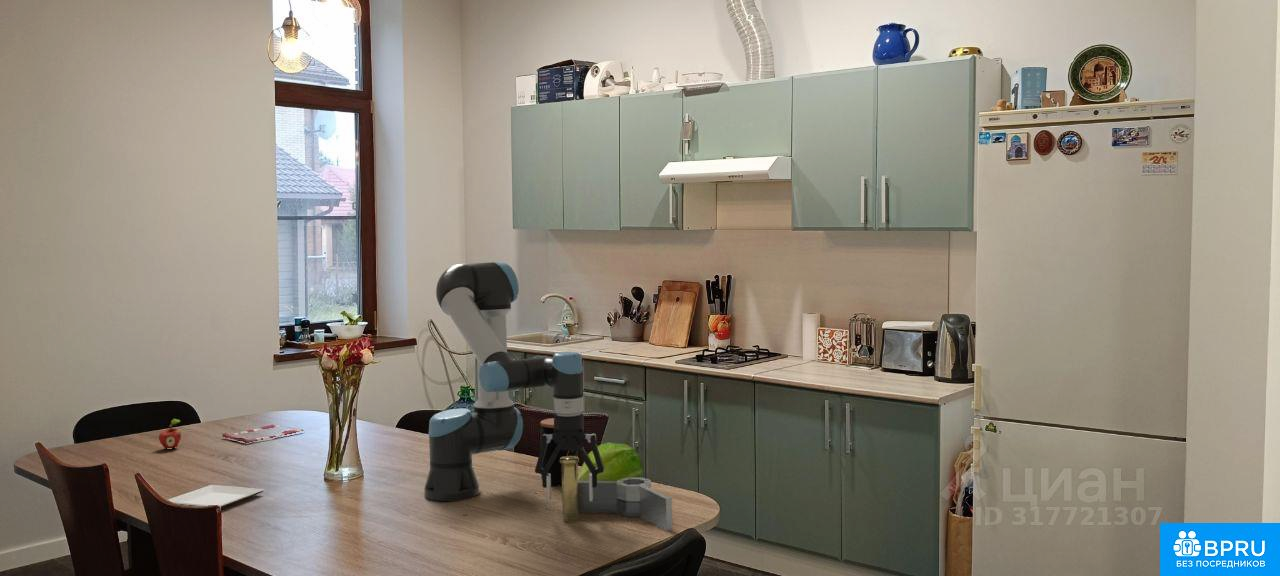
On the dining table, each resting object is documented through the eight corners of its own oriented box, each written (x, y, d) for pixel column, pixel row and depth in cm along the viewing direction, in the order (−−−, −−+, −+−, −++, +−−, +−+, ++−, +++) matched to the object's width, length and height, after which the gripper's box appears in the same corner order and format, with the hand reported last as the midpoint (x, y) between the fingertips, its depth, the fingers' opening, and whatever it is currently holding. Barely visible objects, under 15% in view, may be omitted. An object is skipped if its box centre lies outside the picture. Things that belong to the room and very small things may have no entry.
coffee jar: (572, 487, 285) (571, 425, 283) (536, 485, 287) (535, 424, 286) (582, 478, 295) (581, 418, 294) (547, 476, 297) (546, 417, 296)
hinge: (556, 531, 244) (556, 499, 243) (565, 507, 264) (565, 477, 264) (672, 531, 243) (671, 498, 242) (672, 507, 263) (671, 477, 263)
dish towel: (220, 440, 357) (220, 433, 357) (279, 429, 376) (278, 422, 376) (246, 446, 347) (246, 438, 347) (305, 434, 366) (304, 427, 365)
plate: (265, 496, 281) (264, 488, 281) (217, 514, 263) (217, 506, 263) (211, 491, 287) (211, 484, 287) (161, 508, 269) (161, 501, 269)
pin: (560, 523, 250) (558, 460, 249) (562, 517, 255) (561, 456, 254) (579, 523, 250) (577, 460, 249) (580, 517, 255) (579, 456, 254)
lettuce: (604, 515, 265) (568, 511, 276) (660, 481, 280) (625, 478, 291) (589, 463, 263) (554, 462, 274) (647, 432, 278) (611, 431, 289)
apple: (175, 451, 338) (174, 422, 338) (155, 451, 338) (154, 422, 338) (186, 446, 346) (184, 417, 345) (166, 446, 346) (165, 418, 346)
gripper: (521, 416, 248) (523, 504, 249) (612, 416, 247) (613, 503, 248) (526, 411, 255) (528, 496, 257) (614, 410, 254) (615, 495, 256)
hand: (570, 499), depth 252 cm, fingers open, 10 cm apart
